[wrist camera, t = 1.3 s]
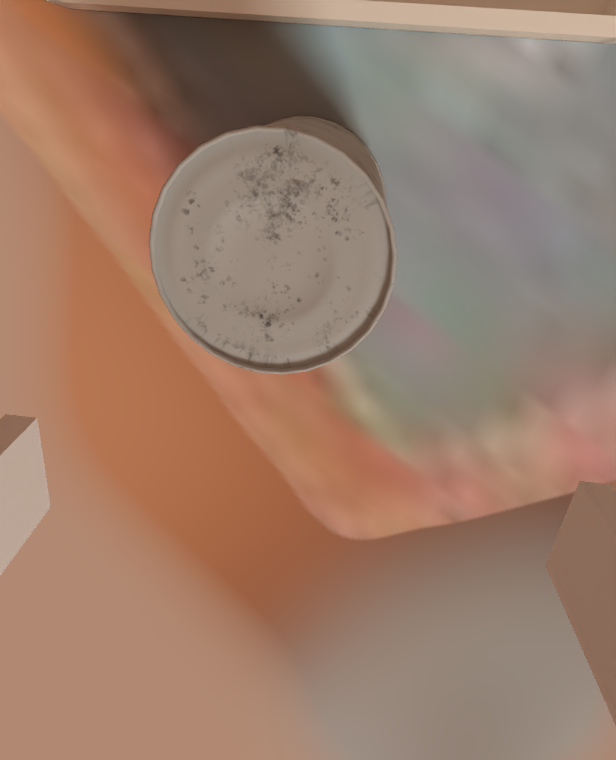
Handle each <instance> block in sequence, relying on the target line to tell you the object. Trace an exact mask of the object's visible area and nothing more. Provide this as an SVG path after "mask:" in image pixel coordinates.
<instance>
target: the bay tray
mask: <svg viewBox="0 0 616 760" xmlns="http://www.w3.org/2000/svg"><path fill="white" fill-rule="evenodd" d="M45 1H47V2H50V3H53V4H57V5H60V6H63V7H66V8H70V9H82V10H97V11H113V12H128V13H144V14H159V15H175V16H190V17H206V18H221V19H237V20H252V21H268V22H283V23H299V24H314V25H330V26H345V27H361V28H376V29H392V30H407V31H423V32H438V33H454V34H469V35H485V36H500V37H516V38H531V39H547V40H562V41H578V42H593V43H609V44H612V43H616V0H45Z"/></svg>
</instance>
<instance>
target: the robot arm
mask: <svg viewBox="0 0 616 760" xmlns="http://www.w3.org/2000/svg"><path fill="white" fill-rule="evenodd" d="M49 508H50V500H49V493H48V487H47V481H46V474H45V467H44V461H43V454H42V449H41V441H40V434H39V428H38V421H37V418H34V417H33V418H32V417H25V416H16V415H7V414H6V415H4V416H3V417H2V418H1V419H0V575H1V574H2V572H3V571H4V570H5V568H6V567H7V565H8V564H9V563H10V562H11V560H12V559H13V557H14V556H15V555H16V553H17V552H18V551H19V549H20V548H21V547H22V545H23V544H24V542H25V541H26V540H27V538H28V537H29V536H30V534H31V533H32V531H33V530H34V529H35V527H36V526H37V525H38V523H39V522H40V521H41V519H42V518H43V517H44V515H45V514H46V512H47V511H48V509H49ZM546 567H547V570H548V572H549V574H550V577H551V579H552V581H553V583H554V586H555V588H556V590H557V593H558V595H559V597H560V600H561V602H562V604H563V606H564V609H565V611H566V613H567V615H568V618H569V620H570V622H571V625H572V627H573V629H574V631H575V633H576V636H577V638H578V641H579V643H580V645H581V647H582V650H583V652H584V654H585V657H586V659H587V661H588V663H589V666H590V668H591V670H592V672H593V675H594V677H595V679H596V681H597V684H598V686H599V688H600V691H601V693H602V695H603V698H604V700H605V702H606V704H607V707H608V709H609V711H610V713H611V716H612V718H613V720H614V722H615V725H616V490H615V489H614V487H613V486H612V485H610V484H601V483H593V482H584V481H579V484H578V486H577V489H576V491H575V494H574V496H573V499H572V501H571V504H570V506H569V509H568V511H567V513H566V516H565V518H564V521H563V523H562V526H561V528H560V530H559V533H558V535H557V538H556V540H555V543H554V545H553V548H552V550H551V553H550V555H549V558H548V560H547V562H546Z"/></svg>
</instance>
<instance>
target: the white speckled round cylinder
mask: <svg viewBox="0 0 616 760" xmlns="http://www.w3.org/2000/svg"><path fill="white" fill-rule="evenodd" d="M149 248H150V259H151V269H152V272H153V275H154V278H155V281H156V284H157V288H158V291H159V294H160V296H161V298H162V300H163V301H164V303H165V305H166V307H167V308H168V310H169V312H170V314H171V315H172V317H173V319H174V320H175V321H176V322H177V323H178V324H179V326H180V327H181V328H182V329H183V330H184V331H185V333H186V334H187V335H188V336H189V337H190V338H191V339H192V340H193V341H195V342H196V343H197V344H199V345H200V346H201V347H202V348H204V349H205V350H206V351H207V352H209V353H210V354H212V355H214V356H216V357H218V358H220V359H222V360H224V361H225V362H227V363H229V364H231V365H233V366H237V367H240V368H244V369H248V370H251V371H255V372H259V373H273V374H289V373H296V372H304V371H309V370H312V369H315V368H318V367H320V366H323V365H326V364H329V363H331V362H333V361H335V360H336V359H338V358H340V357H341V356H343V355H344V354H346V353H348V352H349V351H351V350H352V349H354V348H355V347H356V346H357V345H358V344H359V343H360V342H361V341H362V340H363V339H364V338H365V337H366V336H367V335H368V334H369V333H370V332H371V330H372V329H373V327H374V326H375V324H376V323H377V321H378V320H379V318H380V316H381V315H382V313H383V312H384V310H385V308H386V305H387V302H388V299H389V297H390V294H391V291H392V288H393V285H394V279H395V270H396V261H397V252H396V243H395V234H394V227H393V224H392V221H391V218H390V216H389V213H388V210H387V205H386V195H385V187H384V181H383V178H382V176H381V173H380V170H379V167H378V164H377V162H376V161H375V159H374V158H373V156H372V155H371V153H370V151H369V150H368V148H367V147H366V146H365V145H364V144H363V143H362V142H361V141H360V140H359V139H358V138H357V137H356V136H355V135H354V134H353V133H352V132H350V131H348V130H347V129H345V128H343V127H342V126H340V125H338V124H337V123H335V122H331V121H328V120H325V119H321V118H318V117H307V116H294V117H290V118H285V119H280V120H276V121H274V122H272V123H270V124H268V125H264V126H260V125H256V126H251V127H247V128H242V129H237V130H232V131H228V132H225V133H223V134H221V135H219V136H217V137H215V138H213V139H211V140H209V141H207V142H205V143H203V144H201V145H199V146H198V147H197V148H196V149H195V150H194V151H193V152H191V153H190V154H189V155H188V156H187V157H186V158H185V159H183V160H182V161H181V162H180V163H179V164H178V165H177V166H176V168H175V169H174V171H173V172H172V174H171V175H170V177H169V178H168V180H167V181H166V183H165V184H164V185H163V187H162V189H161V192H160V194H159V197H158V200H157V202H156V205H155V208H154V211H153V213H152V220H151V228H150V236H149Z"/></svg>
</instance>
